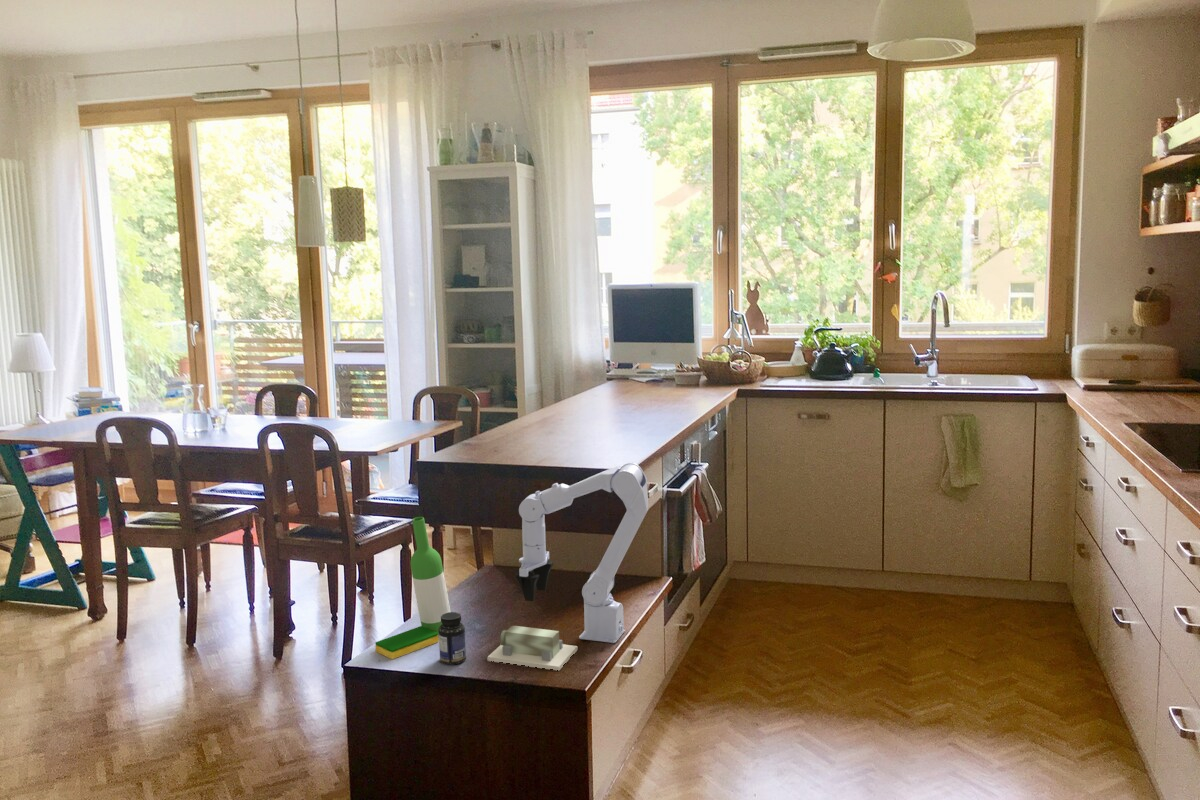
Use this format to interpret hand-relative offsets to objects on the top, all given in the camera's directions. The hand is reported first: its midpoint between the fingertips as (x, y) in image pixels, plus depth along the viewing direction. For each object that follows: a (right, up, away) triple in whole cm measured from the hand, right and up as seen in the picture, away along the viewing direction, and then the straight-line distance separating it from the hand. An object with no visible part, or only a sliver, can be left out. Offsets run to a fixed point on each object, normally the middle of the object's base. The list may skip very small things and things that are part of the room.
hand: (535, 595), depth 245 cm
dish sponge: (-31, -11, -7) cm, 33 cm away
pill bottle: (-18, -13, -15) cm, 27 cm away
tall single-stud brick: (0, -11, -13) cm, 17 cm away
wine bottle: (-25, -9, +2) cm, 26 cm away
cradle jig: (0, -12, -13) cm, 18 cm away
